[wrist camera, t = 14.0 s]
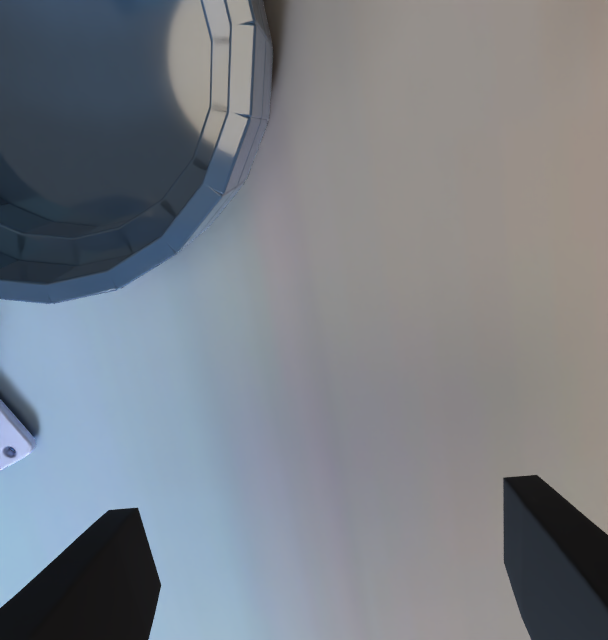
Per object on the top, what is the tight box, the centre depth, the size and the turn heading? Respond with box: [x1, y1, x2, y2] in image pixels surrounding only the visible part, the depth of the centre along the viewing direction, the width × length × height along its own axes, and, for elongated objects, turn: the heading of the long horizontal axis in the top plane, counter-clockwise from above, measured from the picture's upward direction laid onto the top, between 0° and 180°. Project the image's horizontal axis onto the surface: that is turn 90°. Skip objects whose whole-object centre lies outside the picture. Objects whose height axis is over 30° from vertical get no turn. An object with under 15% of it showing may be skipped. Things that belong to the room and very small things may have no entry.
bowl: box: [0, 0, 273, 304], centre depth 14 cm, size 12×12×4 cm
